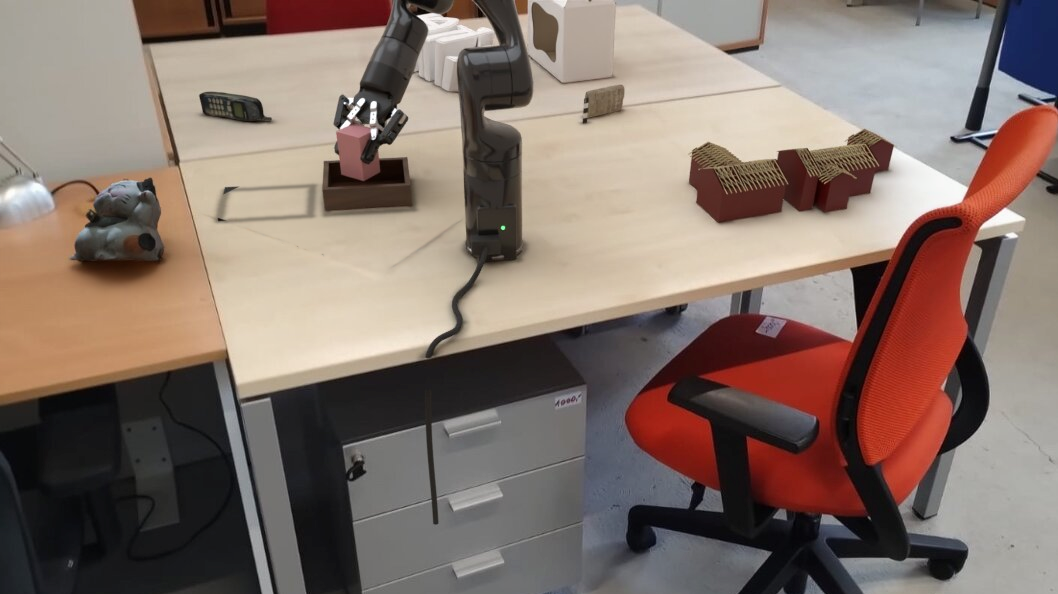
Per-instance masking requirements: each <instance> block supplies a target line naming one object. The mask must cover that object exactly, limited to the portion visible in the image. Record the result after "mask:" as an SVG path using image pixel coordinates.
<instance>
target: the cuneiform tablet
mask: <svg viewBox="0 0 1058 594" xmlns="http://www.w3.org/2000/svg"><path fill="white" fill-rule="evenodd" d="M625 90H626V89H625V86H624V85H623V84H615V85H614V84H613V85H609V86H605V87H600V88H595V89H591V90H587V91H585V95H584V98H583V107H582V108H583V109H582V124H586V123H588V118H593V117H596V116H602V115H606V114H610V113H611V114H612V113H615V112H620V111H621V110H622V109H623V105H624V99H625Z"/></svg>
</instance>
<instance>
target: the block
mask: <svg viewBox="0 0 1058 594" xmlns="http://www.w3.org/2000/svg"><path fill="white" fill-rule="evenodd" d="M370 133H371V127H370V126H366V125H364V126H362V125H358V124H352V125H350V126H347V127H344V128H342V129H340V130H339V129H338V130H337V131H335V134H336V141H337V143H338V151H339V155H338V160H340V167H341V175H345V176H348V177H351V178H355V179H358V180H362V181H365V180H367V179H369V178H370V177H372V176H374V175H376V174H378V173H379V172H380V164H379V158H380V155H379V150H378V151H377V154H376V156H375V158H374V160H373V161H372V162H371V163H370V164H365V163H364V162H363V161H361V160H360V157H361V155H362V153H363V150H364V148H365V146H366V143H367V141H368V140H371V139H370Z"/></svg>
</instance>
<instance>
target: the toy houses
mask: <svg viewBox="0 0 1058 594" xmlns="http://www.w3.org/2000/svg"><path fill="white" fill-rule="evenodd" d="M844 142H846V145H840V146H832V147H825V148H818V149H812V150H809V148H808V147H803V148H802V147H801V148H790V149H782V150H776V153H777V158H769V159H757V160H749V161H744V162H743V161H742V160H741V159H740V158H739V157H737V156H736V155H735V154H733V153H732V152H731V151H730V150H729V149H727V148H726V147H724V146H721V145H718V144H715V143H713V142H711V141H707V142H705V143H703V144H702V145H699V146H697V147H695V148H693V149H692V150H691V151H690V152H688V153H687V156H689V155H690V156H689V157H690V159H691V160H690V167H689V175H688V177H689V178H688V184H690V185H691V186H692V187H693V188H694V189H695V190H696V191H697V192H696V200H695V203H696V204H697V205H698V206H699V207H700V208H701V209H702V210H703V211H705V212H706V214H708V215H709V216H710V217H711V218H712V219H713V220H714V221H716V222H717V223H718V224H719V223H725V222H731V221H737V220H742V219H743V220H744V219H748V218H753V217H760V216H764V215H765V216H766V215H773V214H776V213H782V210H783V203H784V201H785V202H787V203H788V204H789V205H790V206H792V207H793V208H794V209H795V210H796V211H798V212H803V211H811V210H813V208H814V206H815V207H817V208H818V209H820V210H821V211H822V212H823V213H829V212H830V213H831V212H835V211H841V210H846V209H847V208H848V204H849V199H850V197H855V196H861V195H862V196H863V195H866V194H871V192H872V188H873V183H874V178H875V174H876V173H879V172H880V173H881V172H886V171H889V168H890V164H891V159H892V155H893V151H894V147H895V148H897V145H895V144H894V143H892V142H891V141H889V140H887V139H886V138H884V137H883V136H881V135H879V134H877V133H875V132H873V131H871V130H868V129H866V128H863V129H861V130H860V131H858V132H856V133H855V134H854V133H853V134H851V135H849V136H848V138H847V139H845V140H844Z"/></svg>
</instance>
